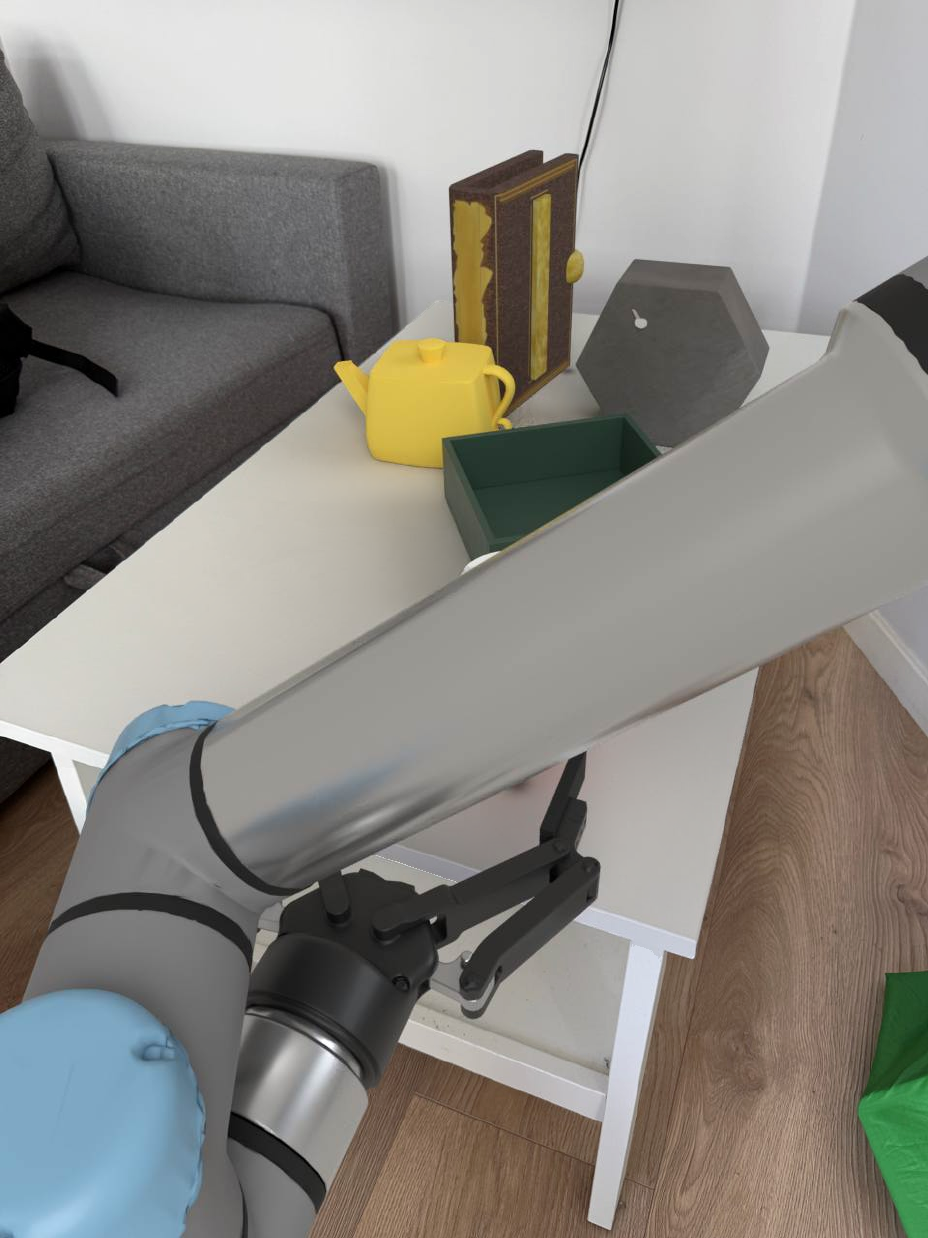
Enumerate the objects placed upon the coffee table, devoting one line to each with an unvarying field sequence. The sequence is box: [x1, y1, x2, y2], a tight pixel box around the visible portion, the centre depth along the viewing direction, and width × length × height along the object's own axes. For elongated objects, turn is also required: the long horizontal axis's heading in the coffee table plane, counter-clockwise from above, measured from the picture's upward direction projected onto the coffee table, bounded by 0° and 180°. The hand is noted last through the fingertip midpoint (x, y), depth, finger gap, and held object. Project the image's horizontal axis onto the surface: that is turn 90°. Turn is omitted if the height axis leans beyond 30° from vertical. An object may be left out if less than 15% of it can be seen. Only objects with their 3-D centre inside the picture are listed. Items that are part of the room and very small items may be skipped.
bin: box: [442, 413, 663, 562], centre depth 86 cm, size 19×19×7 cm
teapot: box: [333, 337, 515, 469], centre depth 100 cm, size 20×12×12 cm, turn 76°
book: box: [448, 149, 585, 418], centre depth 107 cm, size 22×8×25 cm, turn 148°
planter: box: [575, 258, 770, 448], centre depth 99 cm, size 17×8×21 cm
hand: (473, 732), depth 56 cm, fingers open, 13 cm apart
